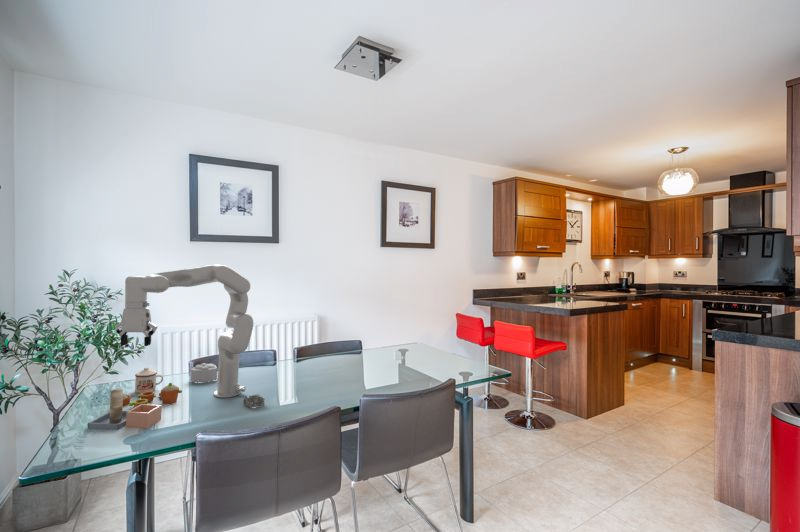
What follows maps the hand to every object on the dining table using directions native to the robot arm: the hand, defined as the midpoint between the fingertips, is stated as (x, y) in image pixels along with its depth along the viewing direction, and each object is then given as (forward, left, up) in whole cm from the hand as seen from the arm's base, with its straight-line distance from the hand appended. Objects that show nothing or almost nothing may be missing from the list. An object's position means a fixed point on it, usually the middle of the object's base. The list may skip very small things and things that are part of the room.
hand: (135, 345), depth 159 cm
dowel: (+2, +7, -30) cm, 31 cm away
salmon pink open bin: (-10, +7, -31) cm, 33 cm away
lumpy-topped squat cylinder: (-4, -50, -31) cm, 59 cm away
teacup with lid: (+14, -32, -31) cm, 47 cm away
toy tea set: (+3, -15, -31) cm, 35 cm away
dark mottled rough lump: (-44, -20, -31) cm, 58 cm away
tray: (+2, +7, -31) cm, 32 cm away
